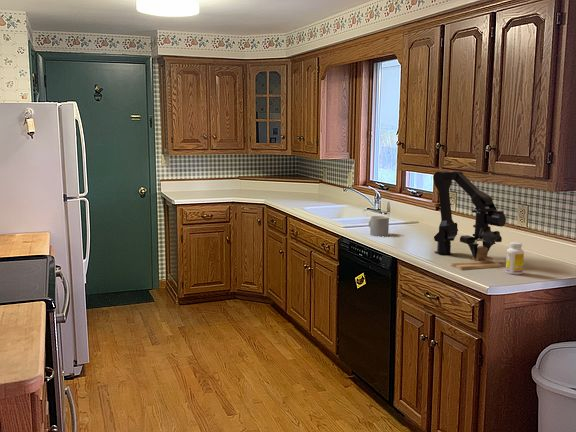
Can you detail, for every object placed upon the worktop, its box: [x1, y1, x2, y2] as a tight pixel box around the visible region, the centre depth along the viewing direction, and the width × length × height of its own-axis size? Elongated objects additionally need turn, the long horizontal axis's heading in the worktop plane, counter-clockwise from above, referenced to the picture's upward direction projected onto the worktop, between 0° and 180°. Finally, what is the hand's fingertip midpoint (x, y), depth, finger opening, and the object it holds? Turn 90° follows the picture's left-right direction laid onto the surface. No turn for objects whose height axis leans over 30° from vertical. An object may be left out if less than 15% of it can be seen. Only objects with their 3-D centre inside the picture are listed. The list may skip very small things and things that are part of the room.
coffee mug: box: [368, 215, 390, 237], centre depth 332 cm, size 13×10×10 cm
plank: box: [450, 260, 501, 271], centre depth 260 cm, size 8×20×1 cm, turn 109°
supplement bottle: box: [505, 241, 525, 276], centre depth 247 cm, size 7×7×13 cm
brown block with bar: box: [471, 245, 494, 262], centre depth 265 cm, size 10×5×6 cm, turn 19°
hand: (479, 257), depth 268 cm, fingers closed on brown block with bar, 5 cm apart
